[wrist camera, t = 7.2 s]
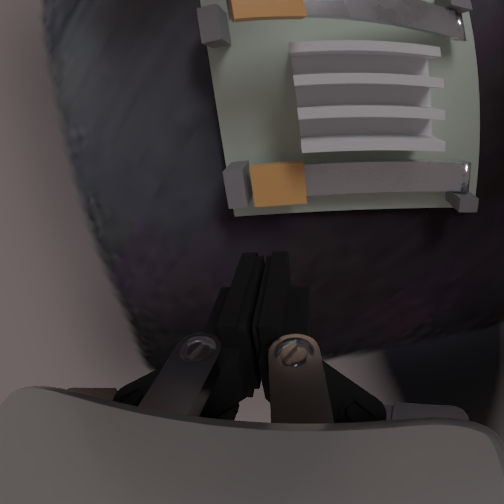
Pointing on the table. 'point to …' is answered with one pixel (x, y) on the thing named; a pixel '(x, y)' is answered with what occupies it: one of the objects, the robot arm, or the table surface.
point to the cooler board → (277, 117)
